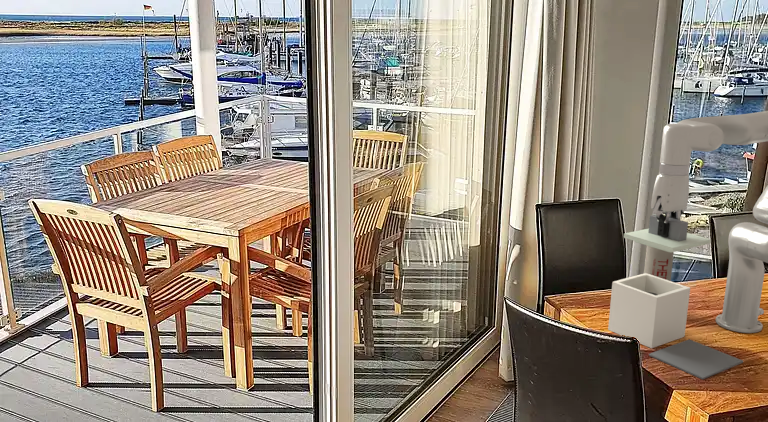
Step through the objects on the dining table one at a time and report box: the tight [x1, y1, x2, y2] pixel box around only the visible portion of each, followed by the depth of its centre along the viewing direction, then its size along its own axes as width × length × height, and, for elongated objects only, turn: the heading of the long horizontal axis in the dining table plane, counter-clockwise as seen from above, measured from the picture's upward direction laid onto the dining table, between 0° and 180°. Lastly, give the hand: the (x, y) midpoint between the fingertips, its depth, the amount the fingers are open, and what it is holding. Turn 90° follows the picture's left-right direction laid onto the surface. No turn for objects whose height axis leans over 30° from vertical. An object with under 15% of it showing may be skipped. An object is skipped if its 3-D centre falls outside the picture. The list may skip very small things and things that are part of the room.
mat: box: [648, 338, 744, 380], centre depth 185 cm, size 18×16×1 cm
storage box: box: [607, 272, 691, 349], centre depth 199 cm, size 15×15×15 cm
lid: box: [623, 214, 712, 253], centre depth 190 cm, size 16×16×7 cm
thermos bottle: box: [643, 245, 675, 282], centre depth 215 cm, size 8×8×28 cm
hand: (667, 234), depth 190 cm, fingers closed on lid, 3 cm apart
